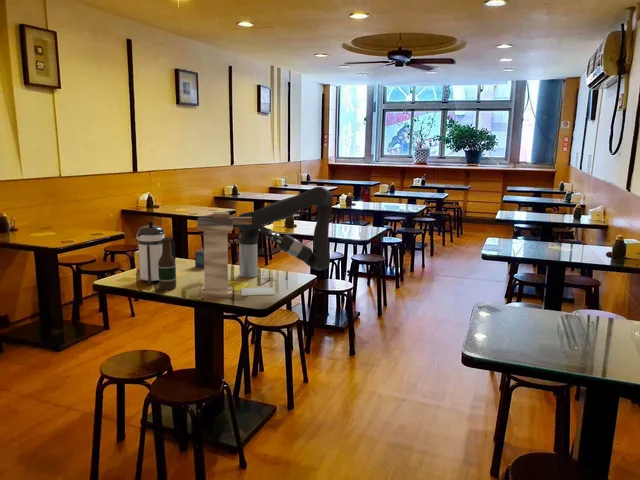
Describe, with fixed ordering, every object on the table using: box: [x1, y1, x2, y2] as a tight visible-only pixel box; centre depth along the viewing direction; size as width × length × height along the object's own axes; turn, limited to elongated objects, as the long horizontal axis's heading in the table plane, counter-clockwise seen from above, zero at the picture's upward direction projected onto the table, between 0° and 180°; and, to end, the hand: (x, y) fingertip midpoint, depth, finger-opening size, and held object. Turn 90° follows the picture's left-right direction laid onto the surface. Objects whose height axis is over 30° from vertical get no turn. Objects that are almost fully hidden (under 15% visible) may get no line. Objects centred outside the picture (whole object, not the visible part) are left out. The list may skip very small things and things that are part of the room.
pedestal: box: [196, 215, 234, 299], centre depth 223 cm, size 14×15×35 cm
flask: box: [194, 248, 204, 269], centre depth 272 cm, size 9×3×11 cm, turn 63°
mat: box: [240, 287, 276, 297], centre depth 229 cm, size 11×15×1 cm
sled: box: [212, 211, 252, 226], centre depth 221 cm, size 6×17×5 cm, turn 99°
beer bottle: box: [158, 237, 177, 291], centre depth 230 cm, size 8×8×24 cm
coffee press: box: [135, 220, 176, 286], centre depth 243 cm, size 17×16×30 cm
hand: (260, 228), depth 224 cm, fingers open, 8 cm apart
